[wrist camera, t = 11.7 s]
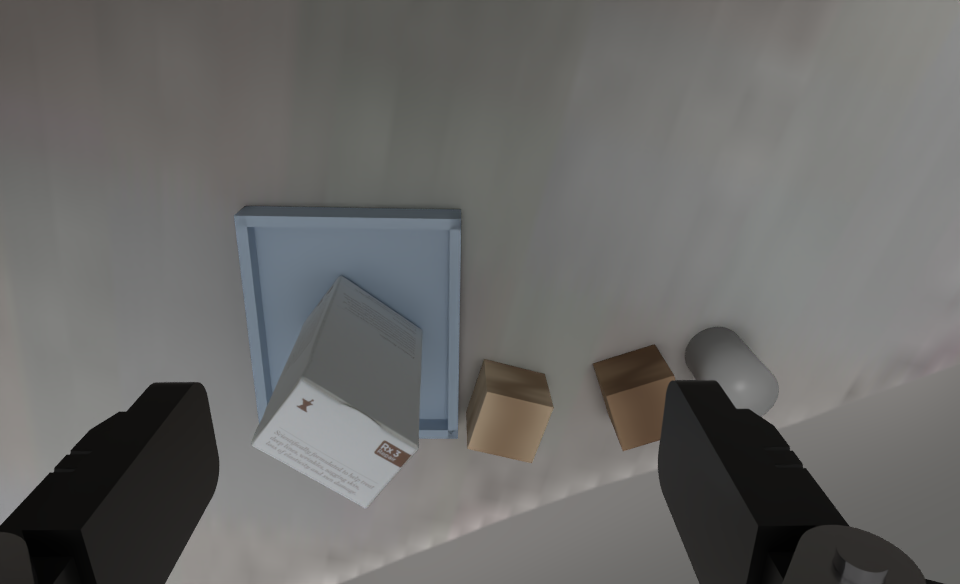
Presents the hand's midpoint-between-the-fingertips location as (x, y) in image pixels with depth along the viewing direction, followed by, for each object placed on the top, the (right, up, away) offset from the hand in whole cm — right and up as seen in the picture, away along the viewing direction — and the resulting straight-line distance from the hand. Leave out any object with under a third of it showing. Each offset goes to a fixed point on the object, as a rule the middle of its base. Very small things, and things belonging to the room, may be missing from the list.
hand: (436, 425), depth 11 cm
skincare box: (-6, 0, +27) cm, 28 cm away
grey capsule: (+15, -2, +30) cm, 33 cm away
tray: (-6, +1, +28) cm, 29 cm away
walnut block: (+10, -3, +30) cm, 32 cm away
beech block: (+2, -4, +30) cm, 31 cm away
